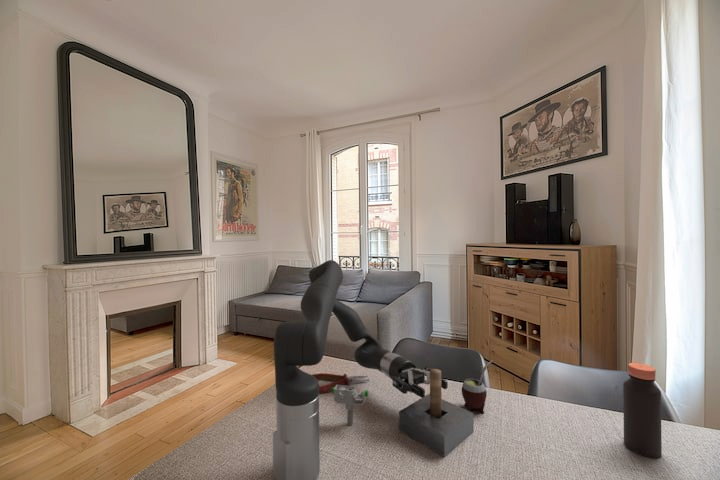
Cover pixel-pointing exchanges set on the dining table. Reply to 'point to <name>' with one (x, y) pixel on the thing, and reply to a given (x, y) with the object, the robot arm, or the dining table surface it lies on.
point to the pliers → (337, 381)
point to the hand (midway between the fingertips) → (435, 389)
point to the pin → (435, 393)
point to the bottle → (642, 411)
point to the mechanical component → (349, 399)
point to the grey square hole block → (436, 425)
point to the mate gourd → (475, 393)
